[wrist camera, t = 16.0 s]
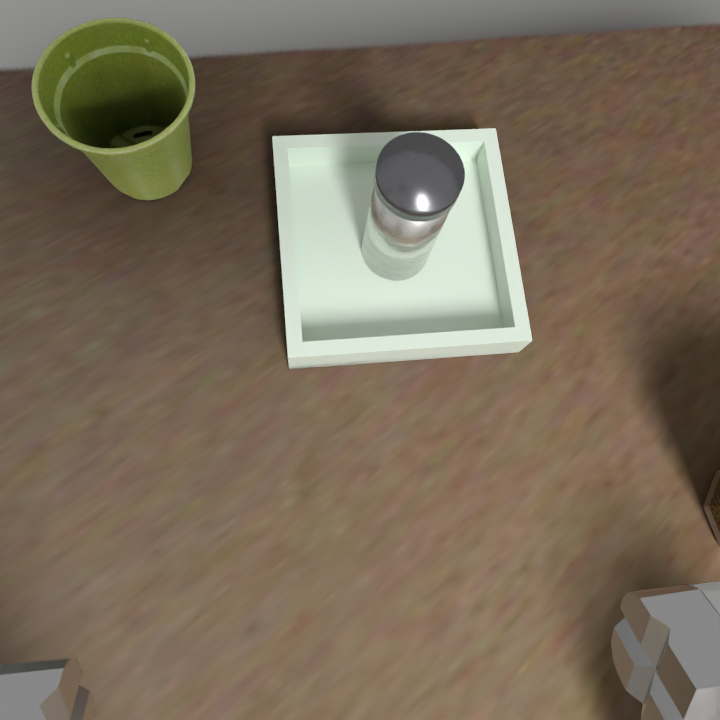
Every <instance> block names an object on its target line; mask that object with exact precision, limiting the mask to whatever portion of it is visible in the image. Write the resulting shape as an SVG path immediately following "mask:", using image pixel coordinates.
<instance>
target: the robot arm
mask: <svg viewBox="0 0 720 720" xmlns="http://www.w3.org/2000/svg"><path fill="white" fill-rule="evenodd" d="M620 609H621V611H622V613H623V615H624V617H625V618H624V619H623V620H622V621H620V622H619V623H618V624H617V625H616V626H615V627H614V630H613V634H612V638H611V648H612V657H613V662H614V665H615V668H616V671H617V674H618V676H619V678H620V680H621V682H622V684H623V686H624V688H625V690H626V691H627V692H628V693H630V694H631V695H632V696H633V697H635V698H636V699H637V700H639V701H640V702H641V703H643V707H642V714H641V720H720V581H716V582H708V583H701V584H694V585H687V584H685V585H677V586H670V587H662V588H655V589H647V590H640V591H633V592H629V593H627V594H626V595H625V596H624V597H623V599H622V602H621V605H620ZM81 676H82V669H81V667H80V665H79V663H78V660H77V658H76V657H75V658H65V659H55V660H44V661H34V662H24V663H14V664H4V665H0V720H95V710H94V702H93V699H92V696H91V693H90V691H89V690H87V689H85V688H84V687H82V686H80V685H79V683H80V679H81Z"/></svg>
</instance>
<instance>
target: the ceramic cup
mask: <svg viewBox="0 0 720 720" xmlns="http://www.w3.org/2000/svg"><path fill="white" fill-rule="evenodd" d="M704 510H705V513H706V515H707V518H708V520H709V523H710V525H711V527H712V530H713V532H714V535H715V537H716V539H717V542H718V544H719V545H720V469H719V470H717V471H716V473H715V475H714V478H713V481H712V483H711V486H710V489H709V492H708V494H707V497H706V500H705V503H704Z"/></svg>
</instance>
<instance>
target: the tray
mask: <svg viewBox="0 0 720 720" xmlns="http://www.w3.org/2000/svg"><path fill="white" fill-rule="evenodd" d="M411 132H423V133H429V134H432V135H435V136H438V137H440V138H442V139H443V140H445V141H446V142H448V143H449V144H450V145H451V146H452V147H453V148H454V149H455V150H456V151H457V153H458V154H459V156H460V158H461V160H462V162H463V165H464V170H465V180H464V185H463V188H462V190H461V192H460V194H459V196H458V199H457V201H456V203H455V204H454V206H453V207H452V208H451V210H450V212H449V214H448V216H447V218H446V221H445V223H444V225H443V227H442V229H441V231H440V234H439V236H438V238H437V240H436V242H435V244H434V247H433V249H432V251H431V253H430V255H429V258H428V260H427V262H426V264H425V266H424V267H423V269H422V270H421V271H420V272H419V273H418V274H417V275H415V276H413V277H412V278H409V279H406V280H401V281H392V280H387V279H384V278H382V277H380V276H378V275H376V274H375V273H373V272H372V271H371V270H370V269H369V268H368V266H367V265H366V263H365V261H364V259H363V256H362V252H361V245H362V239H363V235H364V230H365V225H366V220H367V216H368V211H369V206H370V201H371V197H372V192H373V187H374V174H375V169H376V164H377V160H378V157H379V154H380V152H381V150H382V149H383V147H384V146H385V145H386V144H387V143H388V142H389V141H391V140H392V139H393V138H395V137H397V136H399V135H402V134H406V133H411ZM272 141H273V155H274V169H275V183H276V197H277V212H278V226H279V240H280V254H281V268H282V282H283V296H284V310H285V325H286V339H287V353H288V364H289V369H296V368H309V367H323V366H336V365H350V364H364V363H377V362H391V361H405V360H418V359H432V358H445V357H459V356H473V355H486V354H500V353H513V352H519V351H520V350H522V349H523V348H524V347H525V346H526V345H528V344H529V343H530V342H531V341H532V336H531V330H530V324H529V319H528V313H527V307H526V301H525V295H524V290H523V284H522V278H521V272H520V266H519V261H518V255H517V249H516V243H515V237H514V232H513V226H512V220H511V214H510V208H509V203H508V197H507V191H506V185H505V180H504V174H503V168H502V162H501V156H500V151H499V145H498V139H497V133H496V128H493V129H464V130H436V131H407V132H379V133H350V134H322V135H293V136H272Z"/></svg>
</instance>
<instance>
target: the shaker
mask: <svg viewBox="0 0 720 720" xmlns="http://www.w3.org/2000/svg"><path fill="white" fill-rule="evenodd" d="M464 180H465V170H464V165H463V162H462V160H461V158H460V156H459V154H458V153H457V151H456V150H455V149H454V148H453V147H452V146H451V145H450V144H449V143H448V142H446V141H445V140H443V139H442V138H440V137H438V136H435V135H432V134H429V133H423V132H411V133H406V134H402V135H399V136H397V137H395V138H393V139H392V140H391V141H389V142H388V143H387V144H386V145H385V146H384V147H383V149H382V150H381V152H380V154H379V157H378V160H377V164H376V169H375V174H374V187H373V192H372V197H371V201H370V206H369V211H368V216H367V220H366V225H365V230H364V235H363V239H362V245H361V252H362V256H363V259H364V261H365V263H366V265H367V266H368V268H369V269H370V270H371V271H372V272H373V273H375V274H376V275H378V276H380V277H382V278H384V279H387V280H392V281H401V280H406V279H409V278H412V277H413V276H415V275H417V274H418V273H419V272H420V271H421V270H422V269H423V267H424V266H425V264H426V262H427V260H428V258H429V255H430V253H431V251H432V249H433V247H434V244H435V242H436V240H437V238H438V236H439V234H440V231H441V229H442V227H443V225H444V223H445V221H446V218H447V216H448V214H449V212H450V210H451V208H452V207H453V206H454V204H455V203H456V201H457V199H458V196H459V194H460V192H461V190H462V188H463V185H464Z"/></svg>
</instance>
